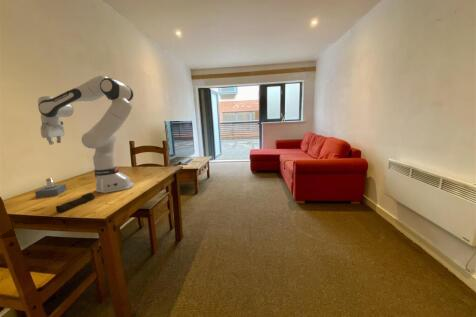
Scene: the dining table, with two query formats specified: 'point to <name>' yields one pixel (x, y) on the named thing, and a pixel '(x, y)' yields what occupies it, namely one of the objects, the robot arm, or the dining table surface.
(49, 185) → the steel pin
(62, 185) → the hole block
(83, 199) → the hand tool
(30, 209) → the dining table surface
